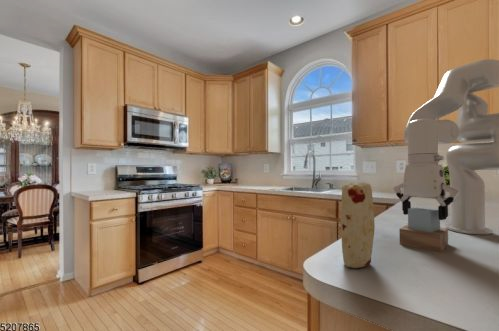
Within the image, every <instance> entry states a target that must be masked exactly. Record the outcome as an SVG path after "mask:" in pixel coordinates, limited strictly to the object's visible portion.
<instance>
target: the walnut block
mask: <svg viewBox="0 0 499 331" xmlns="http://www.w3.org/2000/svg"><path fill="white" fill-rule="evenodd" d="M399 245H403V246H408V247H413V248H418V249H422V250H427V251H431V252H432V251H433V252H438V253H442V251H444V249H446V247H447V246H448V245H449V230H448V229H447V228H446V227H445V228H444V227H441V228H440V230H437V231H434V232H425V231H420V230H415V229H409V228H408V225H406V224H405V225H404V226H401V227H400V228H399Z"/></svg>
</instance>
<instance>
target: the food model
mask: <svg viewBox="0 0 499 331" xmlns="http://www.w3.org/2000/svg"><path fill="white" fill-rule="evenodd" d="M373 200H374V199H373V190H372V185H371V184H370V183H368V182H366V181H360V182H357V183H356V182H354V183H353V182H349V183H347V184H343V185H342V187H341V204H340V206H341V208H340V209H341V210H340V235H341V248H342V251H341V252H342V259H343V264H344V265H345V267H347V268H352V269H357V268H358V269H359V268H364V267H367V266H369V265H370V264H372V254H373V246H374V239H375V238H374V236H375V228H376V227H375V226H376V225H375V212H374V210H375V209H374V201H373Z"/></svg>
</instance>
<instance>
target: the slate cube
mask: <svg viewBox="0 0 499 331" xmlns="http://www.w3.org/2000/svg"><path fill="white" fill-rule="evenodd" d="M407 223H408V228H409V229H415V230H420V231H425V232H434V231H437V230H440V227H441V220H439V217H438V208H431V207H430V208H428V207H421V206H414V207H411V208H409V209H408V214H407Z"/></svg>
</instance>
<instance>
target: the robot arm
mask: <svg viewBox="0 0 499 331" xmlns="http://www.w3.org/2000/svg"><path fill="white" fill-rule="evenodd" d="M496 88H499V59H493V58H492V59H490V58H487V59H481V60H478V61H474V62H470V63H468V64H467V63H466V64H464V65H459V66H457V67H456V66H455V67H454V68H451V69H450V70H447V72H446V73H444V74H443V77H442V78H441V81H440V83H439V85H438V87H437V90H436V92H435V94H434V96H433V98H431V99H429V100H428V101H427V102H425V103H424V104H423V105H421V106H420V107H419V108H417V109H416V110H415V111H414V112H413V113H412V114H411V115H410V117H409V118H408V121H407V123H406V126H405V128H404V132H403V139H404V142H405V143H406V144H407V164H406V165H405V169H404V173H403V183H401V184H398V185H396V186H394V187H393V190H394V193H395V194H396V197H397V198H398V199H399V201H400V202H401V203H402V204H401V209H402V212H403V215H405V216H406V215H407V216H408V209H409V208H412V204H411V201H410V200H411V198H421V199H423V198H424V199H434V200H435V201H437V203H438V204H439V205H438V207H437V209H438V217H439V220H440V221H444V220H446V219H447V218H448V217H449V206H450V223H447V224H445V225H444V226H445V229H448V231H451V232H455V233H461V234H467V235H477V236H478V235H483V236H485V235H491V234H492V233H493V232H492V229H491V228H489V227H486V201H485V200H486V195H485V194H486V192H485V186H486V185H485V182H484V179H483V178H482V177H481V176H480V175H479V174H478V173H477V172H476V171H499V112H497V113H495V112H494V113H489V112H488V111H489V110H488V109H489V104H488V102H487V101H485V99H483V98H482V97H480V96H478V95H476V92H482V91H487V90H491V89H496ZM456 111H457V114H456V115H457V116H456V122H455V121H453V120H451V119H441V118H442V117H446V116H447V115H450V114H452V113H454V112H456ZM488 113H489V114H488ZM455 140H457V141H458V142H460V143H461V144H456V145H453V146H451V147H449V148H448V149H447V151H446V153H445V158H446V164H447V167H448V173H449V174H448V175H449V185H447V183H446V177H445V172H444V168H443V165H442V164H439V163H440V162H441V161H444V155H440V153H439V145H444V144H450V143H452V142H454V141H455ZM463 143H464V144H463ZM402 189H403V190H402ZM402 191H403V193H402ZM447 192H448V193H449V196H448V197H447V198H446V196H447Z"/></svg>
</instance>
